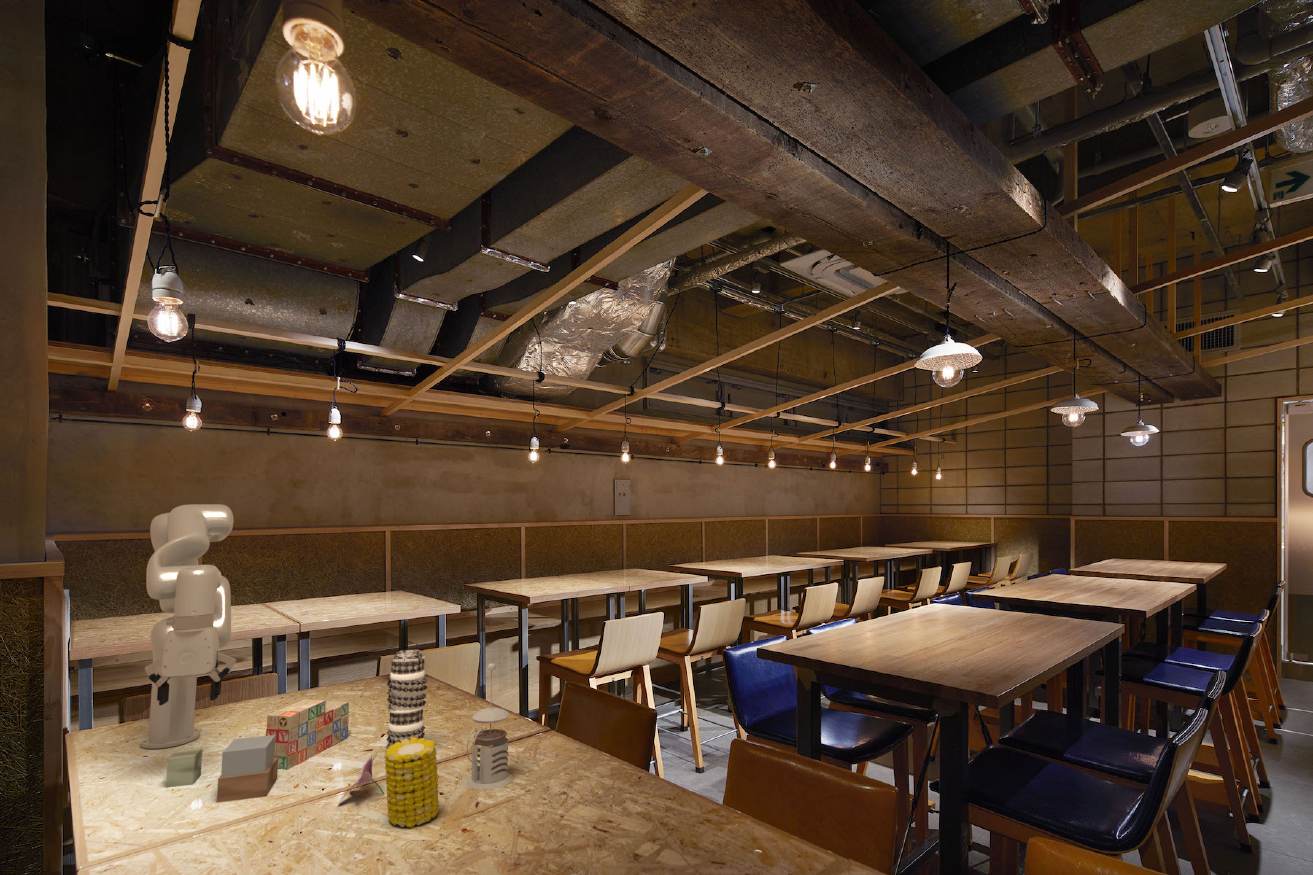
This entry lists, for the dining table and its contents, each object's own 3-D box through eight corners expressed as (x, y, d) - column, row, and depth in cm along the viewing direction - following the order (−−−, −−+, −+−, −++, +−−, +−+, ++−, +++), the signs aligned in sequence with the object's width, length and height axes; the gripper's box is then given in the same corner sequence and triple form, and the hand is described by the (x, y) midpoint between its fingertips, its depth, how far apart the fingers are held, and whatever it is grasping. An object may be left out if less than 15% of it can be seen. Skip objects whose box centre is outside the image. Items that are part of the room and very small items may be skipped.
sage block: (174, 778, 146) (176, 750, 147) (200, 775, 148) (202, 748, 148) (165, 787, 141) (167, 758, 142) (192, 784, 143) (194, 756, 143)
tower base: (230, 786, 142) (232, 762, 143) (277, 780, 145) (278, 757, 146) (216, 803, 134) (218, 778, 134) (266, 797, 137) (267, 772, 137)
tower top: (232, 762, 143) (234, 739, 143) (274, 758, 145) (275, 734, 146) (221, 777, 135) (222, 751, 136) (264, 772, 137) (266, 747, 138)
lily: (374, 784, 144) (352, 748, 143) (414, 769, 141) (392, 732, 140) (338, 827, 133) (314, 788, 132) (382, 811, 130) (357, 771, 129)
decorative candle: (375, 762, 154) (379, 654, 157) (404, 749, 162) (407, 646, 165) (405, 768, 151) (409, 657, 153) (433, 754, 159) (436, 649, 162)
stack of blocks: (327, 736, 172) (329, 688, 174) (348, 738, 171) (350, 689, 172) (263, 768, 151) (266, 713, 153) (287, 770, 150) (289, 715, 151)
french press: (521, 775, 146) (522, 660, 149) (487, 796, 136) (489, 672, 138) (486, 768, 150) (488, 656, 153) (451, 788, 140) (453, 668, 142)
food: (447, 820, 128) (403, 846, 120) (410, 793, 135) (365, 815, 126) (458, 747, 128) (414, 767, 119) (420, 723, 134) (375, 740, 125)
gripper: (141, 628, 142) (135, 710, 140) (232, 622, 147) (228, 701, 145) (155, 623, 149) (150, 701, 147) (242, 617, 154) (238, 693, 152)
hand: (189, 701), depth 146 cm, fingers open, 9 cm apart
